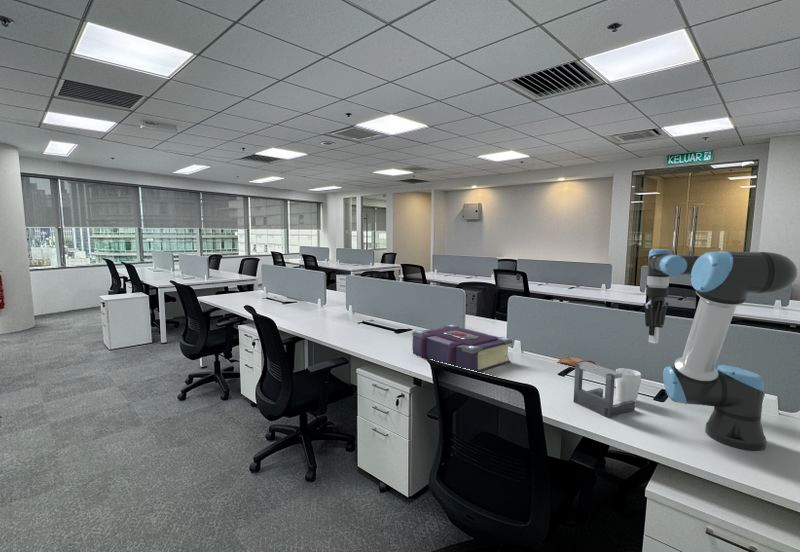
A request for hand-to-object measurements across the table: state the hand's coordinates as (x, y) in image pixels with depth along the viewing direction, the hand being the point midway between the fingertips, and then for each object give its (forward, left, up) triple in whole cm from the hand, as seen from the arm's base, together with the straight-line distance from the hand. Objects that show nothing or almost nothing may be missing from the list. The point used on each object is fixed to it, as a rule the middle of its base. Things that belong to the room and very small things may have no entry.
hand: (653, 342), depth 161 cm
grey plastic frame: (-10, +27, -22) cm, 36 cm away
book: (+55, +69, -23) cm, 91 cm away
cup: (-5, +14, -23) cm, 27 cm away
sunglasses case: (+38, +11, -23) cm, 46 cm away
